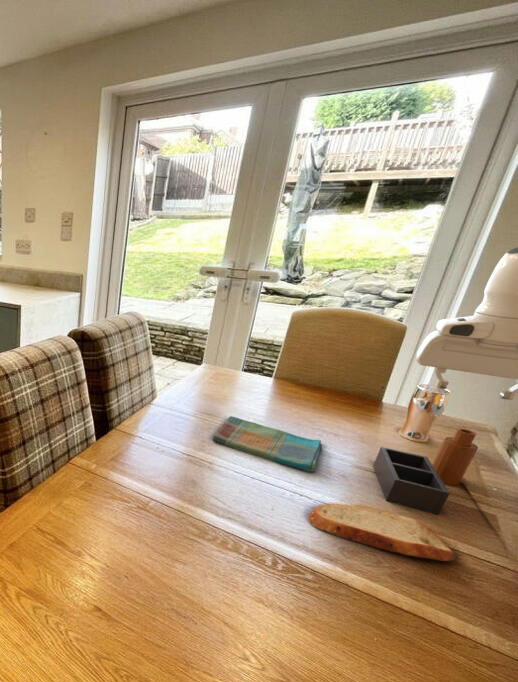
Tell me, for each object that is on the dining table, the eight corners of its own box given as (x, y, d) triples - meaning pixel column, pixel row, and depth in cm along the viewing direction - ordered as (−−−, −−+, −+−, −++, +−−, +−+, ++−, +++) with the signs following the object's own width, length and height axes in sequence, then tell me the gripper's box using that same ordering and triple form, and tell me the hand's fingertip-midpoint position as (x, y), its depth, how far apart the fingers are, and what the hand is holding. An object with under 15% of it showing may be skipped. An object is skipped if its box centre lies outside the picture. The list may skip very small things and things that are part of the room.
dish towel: (313, 476, 95) (317, 467, 94) (211, 442, 109) (213, 434, 108) (321, 447, 107) (324, 439, 106) (228, 420, 121) (230, 413, 120)
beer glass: (390, 432, 115) (410, 385, 109) (406, 429, 117) (426, 382, 111) (419, 444, 109) (442, 395, 103) (435, 441, 110) (459, 392, 105)
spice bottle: (454, 477, 95) (478, 429, 90) (462, 488, 91) (488, 439, 86) (425, 470, 97) (447, 423, 93) (431, 481, 93) (454, 433, 89)
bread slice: (298, 517, 82) (304, 502, 80) (354, 497, 88) (360, 483, 86) (404, 587, 66) (412, 570, 65) (463, 557, 72) (472, 541, 71)
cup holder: (418, 476, 95) (427, 456, 93) (438, 515, 83) (449, 493, 80) (372, 465, 99) (380, 446, 97) (385, 500, 87) (395, 479, 85)
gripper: (579, 334, 74) (542, 400, 80) (428, 319, 86) (405, 378, 91) (594, 341, 70) (555, 411, 75) (433, 325, 82) (408, 386, 87)
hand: (471, 392), depth 83 cm, fingers open, 8 cm apart
